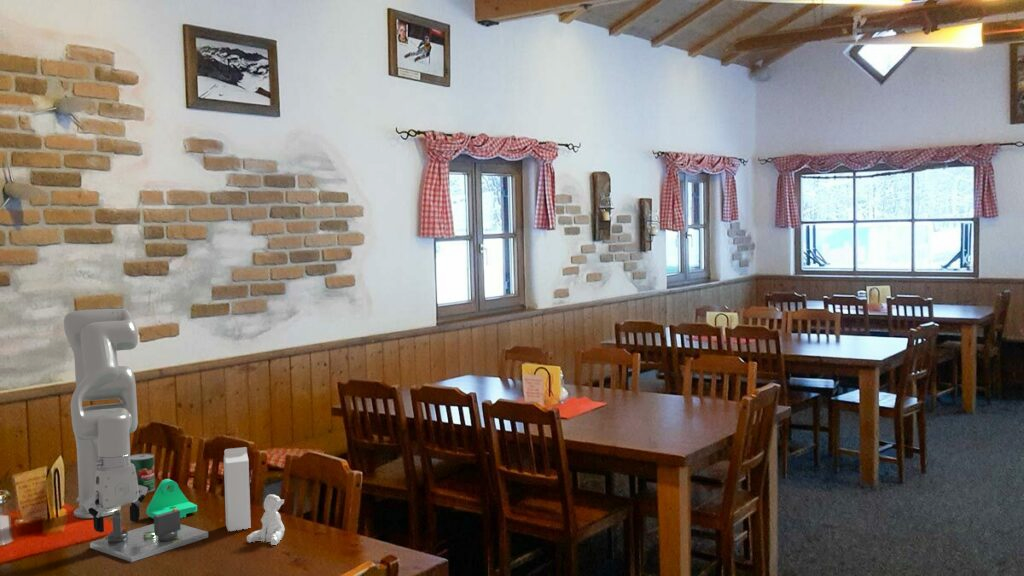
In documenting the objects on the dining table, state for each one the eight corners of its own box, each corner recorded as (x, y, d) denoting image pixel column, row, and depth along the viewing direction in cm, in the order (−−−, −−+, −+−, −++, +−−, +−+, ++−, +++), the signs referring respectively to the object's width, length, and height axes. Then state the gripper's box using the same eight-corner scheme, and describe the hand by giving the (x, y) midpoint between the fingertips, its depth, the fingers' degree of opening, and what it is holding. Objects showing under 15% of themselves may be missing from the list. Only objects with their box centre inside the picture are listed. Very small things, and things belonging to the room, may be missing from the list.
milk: (250, 528, 245) (248, 449, 243) (227, 532, 242) (225, 451, 241) (248, 522, 250) (245, 444, 249) (225, 525, 248) (223, 447, 247)
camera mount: (157, 524, 251) (155, 488, 250) (146, 518, 256) (145, 483, 256) (198, 514, 259) (197, 479, 259) (187, 509, 265) (186, 475, 264)
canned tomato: (149, 493, 282) (147, 459, 281) (124, 494, 282) (122, 459, 281) (159, 486, 290) (158, 453, 289) (135, 487, 290) (133, 453, 289)
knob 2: (151, 539, 232) (150, 512, 232) (173, 532, 237) (172, 506, 237) (162, 543, 229) (161, 515, 229) (184, 536, 234) (183, 509, 234)
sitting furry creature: (245, 543, 233) (243, 497, 232) (265, 532, 241) (264, 489, 240) (275, 546, 230) (273, 500, 229) (295, 536, 238) (293, 492, 237)
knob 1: (107, 544, 229) (105, 517, 228) (108, 537, 235) (107, 510, 234) (127, 542, 230) (126, 514, 230) (128, 534, 236) (127, 508, 236)
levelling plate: (90, 547, 231) (89, 538, 231) (166, 525, 249) (166, 516, 249) (131, 562, 220) (131, 552, 220) (208, 537, 238) (207, 528, 238)
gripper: (90, 470, 222) (92, 538, 223) (153, 456, 236) (155, 520, 237) (74, 466, 227) (77, 532, 228) (137, 452, 241) (139, 515, 241)
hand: (117, 526), depth 232 cm, fingers open, 9 cm apart
